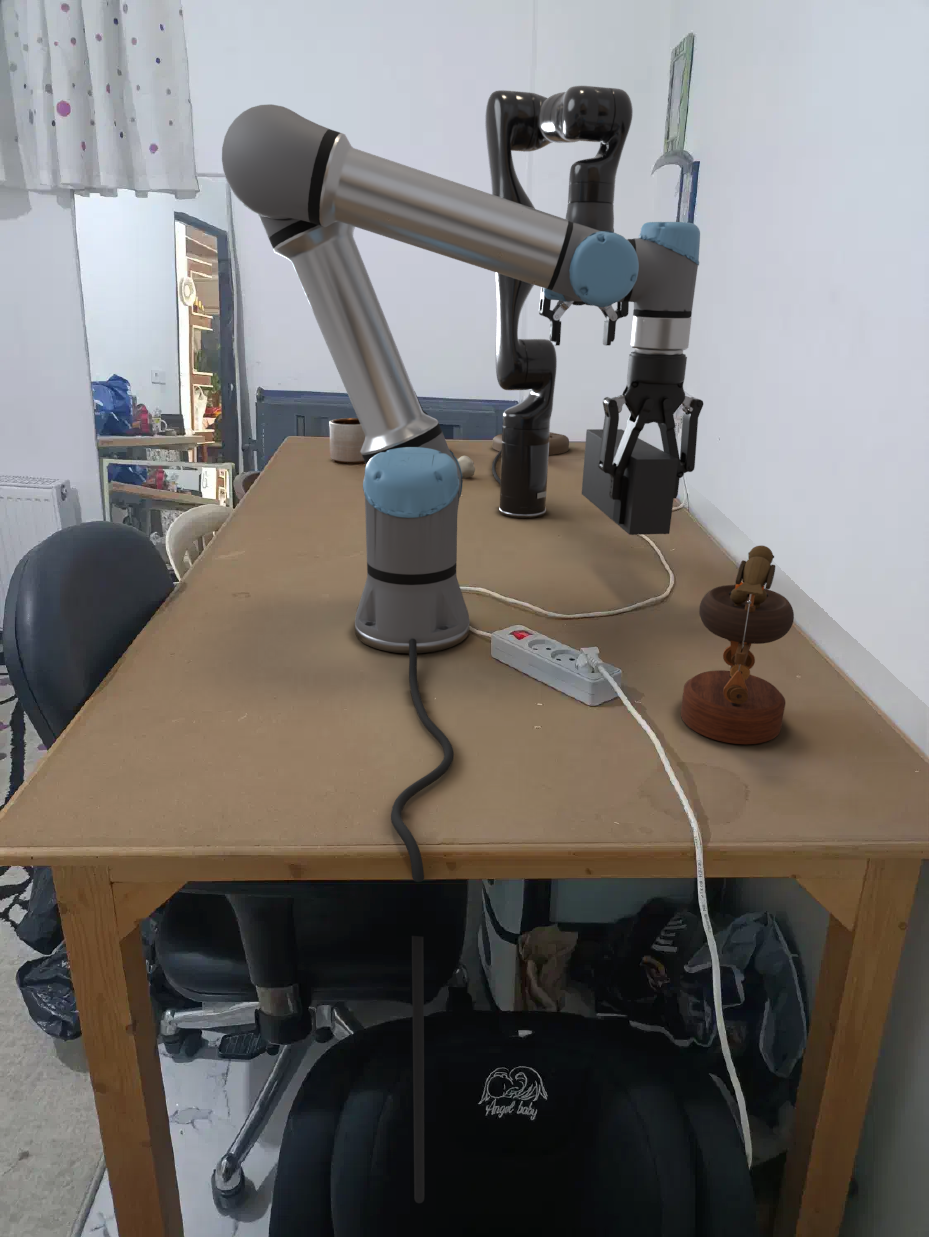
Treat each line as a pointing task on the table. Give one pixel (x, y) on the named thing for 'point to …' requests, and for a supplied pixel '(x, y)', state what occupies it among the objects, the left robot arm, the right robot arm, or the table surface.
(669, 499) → the box
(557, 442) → the brown flat rounded piece
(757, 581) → the music box
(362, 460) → the planter
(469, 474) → the dog toy
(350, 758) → the table surface
